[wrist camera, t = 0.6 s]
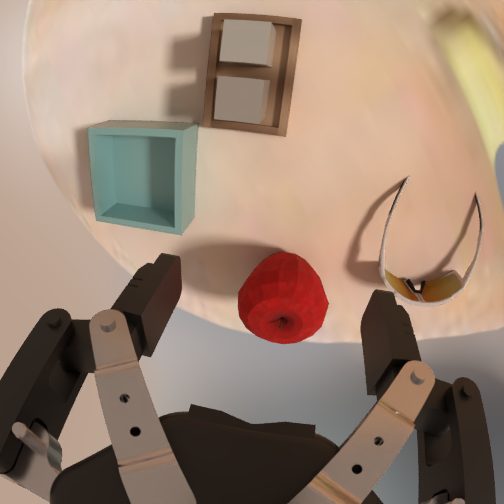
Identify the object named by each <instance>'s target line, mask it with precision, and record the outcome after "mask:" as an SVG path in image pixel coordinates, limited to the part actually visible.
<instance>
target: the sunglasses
mask: <svg viewBox="0 0 504 504" xmlns="http://www.w3.org/2000/svg"><path fill="white" fill-rule="evenodd" d="M408 179H409V176H408V177H407V178H406V179H405V181H404V182H403V183H402V185H401V187H400V189H399V191H398V193H397V195H396V197H395V200H394V202H393V205H392V207H391V210H390V212H389V215H388V218H387V221H386V224H385V230H384V235H383V239H382V244H381V249H380V254H379V267H378V270H379V275H380V277H381V279H382V280H383V282H384V283H385V285H386V286H387V287H388V289H389V290H390V291H391V292H393V293H394V295H395V296H396V297H398V298H399V299H401V300H402V301H404V302H407V303H409V304H412V305H416V306H422V307H430V306H437V305H441V304H444V303H447V302H449V301H451V300H452V299H453V298H454V297H456V296H457V295H459V294H460V293H461V292H462V291H463V290H464V288H465V286H466V285H467V283H468V281H469V279H470V277H471V275H472V272H473V270H474V268H475V265H476V262H477V258H478V255H479V251H480V247H481V241H482V236H483V217H482V211H481V206H480V202H479V198H478V195H477V192H475V198H476V202H477V206H478V211H479V219H480V230H479V236H478V244H477V250H476V253H475V256H474V259H473V261H472V263H471V265H470V266H469V267H468V269H467V271H466V273H465V275H464V277H463V279H462V278H461V276H460V275H459V274H458V273H457V272H456V271H452V272H450V273H449V274H447V275H445V276H443V277H441V278H440V279H437V280H434V281H430V282H425V281H423V282H422V283H421V288H420V290H415V288H414V286H413V284H412V282H411V281H410V279H408V280H407V281H406V280H404V279H403V280H402V279H399V278H397V277H396V276H394V275H392V274H391V273H390V271H389V270H388V269H387V268H386V267H385V241H386V235H387V231H388V226H389V223H390V220H391V218H392V215H393V212H394V209H395V207H396V204H397V202H398V200H399V197H400V195H401V193H402V191H403V189H404V187H405V185H406V183H407V181H408Z"/></svg>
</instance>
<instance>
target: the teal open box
mask: <svg viewBox="0 0 504 504" xmlns="http://www.w3.org/2000/svg"><path fill="white" fill-rule="evenodd" d="M197 137H198V123H184V122H166V121H107V122H104V123H101V124H98V125H95V126H92V127H89V128H88V142H89V159H90V172H91V183H92V192H93V201H94V209H95V216H96V221H100V222H106V223H112V224H118V225H124V226H130V227H136V228H142V229H147V230H153V231H159V232H165V233H171V234H177V235H182V234H183V233H184V231H185V230H186V229H187V227H188V226H189V224H190V223H191V222H192V220H193V219H194V208H195V177H196V155H197Z"/></svg>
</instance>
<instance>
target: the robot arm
mask: <svg viewBox="0 0 504 504" xmlns="http://www.w3.org/2000/svg"><path fill="white" fill-rule="evenodd" d="M181 290H182V279H181V261H180V257H179V256H176V255H170V254H165V253H161V254H160V255H159V257H158V258H157V260H156V261H155V262H154V264H152V263H147V264H146V265H144V266H142V267H141V268H139V269H138V271H137V272H136V273H135V275H134V276H133V279H131V280H130V282H129V283H128V286H126V287H125V289H124V290H123V292H122V293H121V295H120V296H119V297H118V299H117V300H116V302H115V303H114V305H113V306H112V308H111V309H108V310H103V311H100V312H98V313H97V314H95V315H94V316H93V317H92V319H91V320H72V319H71V316H70V314H69V313H68V312H67V311H66V310H64V309H58V308H57V309H52V310H50V311H48V312H46V313H45V314H44V315H43V316H42V317H41V318H40V320H39V321H38V322H37V324H36V325H35V327H34V328H33V330H32V331H31V333H30V334H29V335H28V337H27V339H26V340H25V341H24V343H23V345H22V346H21V348H20V349H19V351H18V352H17V354H16V355H15V357H14V359H13V360H12V362H11V363H10V365H9V367H8V368H7V370H6V372H5V373H4V375H3V377H2V378H1V380H0V475H1V476H2V477H4V478H5V479H7V480H9V481H11V482H13V483H16V484H18V485H20V486H22V487H24V488H26V489H28V490H30V491H31V492H33V493H35V494H36V495H38V496H40V497H42V498H43V499H45V500H47V501H49V502H50V504H383V503H382V502H381V500H380V499H379V498H378V496H377V495H376V494H375V493H374V491H373V490H372V489H373V488H374V487H375V485H376V484H377V483H378V481H379V480H380V479H381V477H382V476H383V475H384V473H385V471H386V470H387V469H388V468H389V466H390V465H391V463H392V462H393V460H394V459H395V457H396V456H397V455H398V453H399V451H400V450H401V448H402V447H403V445H404V444H405V442H406V441H407V439H408V437H409V436H410V434H411V433H412V431H413V429H417V439H418V463H419V464H418V465H419V498H418V504H496V498H495V482H494V471H493V462H492V454H491V447H490V440H489V434H488V429H487V423H486V418H485V413H484V409H483V404H482V399H481V395H480V391H479V389H478V387H477V386H476V384H475V383H474V382H473V381H471V380H470V379H468V378H464V377H462V378H458V379H457V380H455V382H454V383H453V384H450V383H447V382H444V381H441V380H438V379H436V378H435V377H434V373H433V372H432V370H431V368H430V367H429V366H428V365H426V364H425V363H423V362H422V361H421V358H420V354H419V350H418V346H417V342H416V338H415V335H414V334H413V333H414V331H413V328H412V326H411V325H412V324H411V321H410V317H409V314H408V313H407V312H406V310H405V309H404V308H403V306H402V305H397V303H396V300H395V296H394V293H393V292H390V291H383V290H377V289H376V290H374V292H373V294H372V296H371V298H370V301H369V303H368V305H367V308H366V310H365V312H364V314H363V317H362V320H361V338H362V346H363V355H364V364H365V374H366V385H367V395H377V402H376V403H375V404H374V406H373V407H372V408H371V410H370V411H369V412H368V413H367V415H366V416H365V417H364V418H363V420H362V421H361V422H360V423H359V425H358V426H357V427H356V428H355V429H354V431H353V432H352V433H351V434H350V435H349V436H348V438H347V439H346V440H345V441H344V442H343V443H342V444H341V445H340V446H339V447H338V446H337V445H336V444H334V443H333V442H332V441H330V440H328V439H327V438H326V437H323V436H321V435H319V434H316V433H315V425H310V424H300V423H291V422H277V423H264V424H250V423H248V422H245V421H243V420H241V419H238V418H236V417H233V416H231V415H229V414H227V413H225V412H222V411H219V410H215V409H210V408H206V407H201V406H197V405H193V404H191V406H190V409H189V412H175V413H170V414H167V415H163V416H161V417H159V418H158V416H157V413H156V410H155V408H154V405H153V403H152V400H151V397H150V394H149V392H148V389H147V386H146V383H145V380H144V377H143V374H142V371H141V368H140V366H139V360H140V358H141V356H142V355H144V356H148V357H151V356H152V354H153V352H154V350H155V348H156V345H157V343H158V341H159V339H160V337H161V335H162V333H163V331H164V329H165V327H166V324H167V323H168V321H169V319H170V317H171V315H172V313H173V310H174V309H175V307H176V305H177V303H178V301H179V298H180V295H181ZM88 373H94V374H95V380H96V385H97V388H98V394H99V398H100V402H101V406H102V410H103V414H104V418H105V422H106V425H107V429H108V432H109V436H110V439H111V442H112V444H111V445H110V446H108V447H106V448H104V449H102V450H101V451H99V452H97V453H95V454H93V455H91V456H89V457H87V458H85V459H84V460H82V461H80V462H78V463H76V464H74V465H72V466H70V467H68V468H66V469H64V470H63V471H62V469H61V462H62V448H61V446H60V444H59V442H58V438H59V436H60V433H61V431H62V429H63V426H64V424H65V422H66V419H67V417H68V415H69V413H70V410H71V408H72V406H73V404H74V402H75V399H76V397H77V395H78V393H79V391H80V389H81V387H82V384H83V383H84V381H85V378H86V376H87V374H88Z"/></svg>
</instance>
